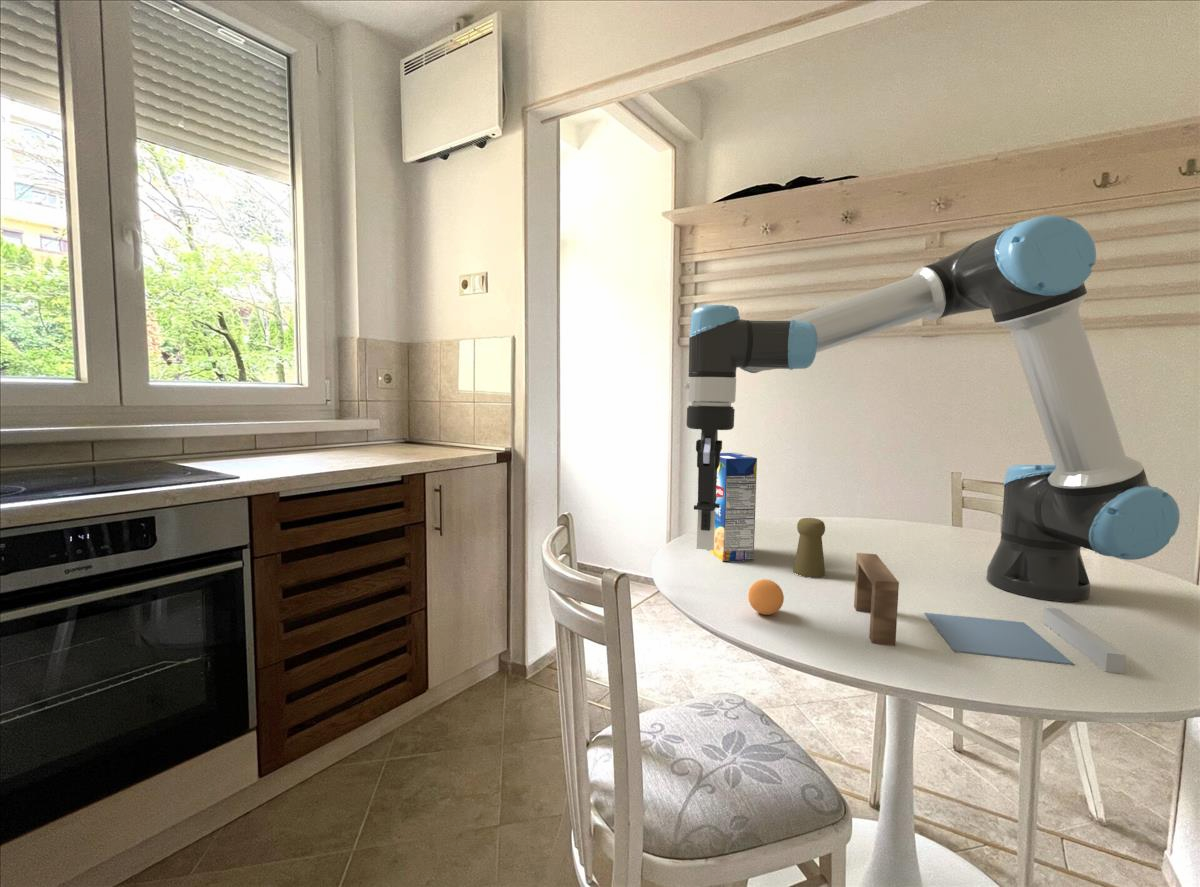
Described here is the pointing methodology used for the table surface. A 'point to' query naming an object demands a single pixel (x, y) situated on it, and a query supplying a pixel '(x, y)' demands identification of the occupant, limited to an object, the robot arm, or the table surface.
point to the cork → (810, 548)
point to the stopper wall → (1085, 641)
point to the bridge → (877, 597)
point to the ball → (765, 596)
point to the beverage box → (735, 507)
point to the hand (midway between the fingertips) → (705, 548)
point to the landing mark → (995, 638)
